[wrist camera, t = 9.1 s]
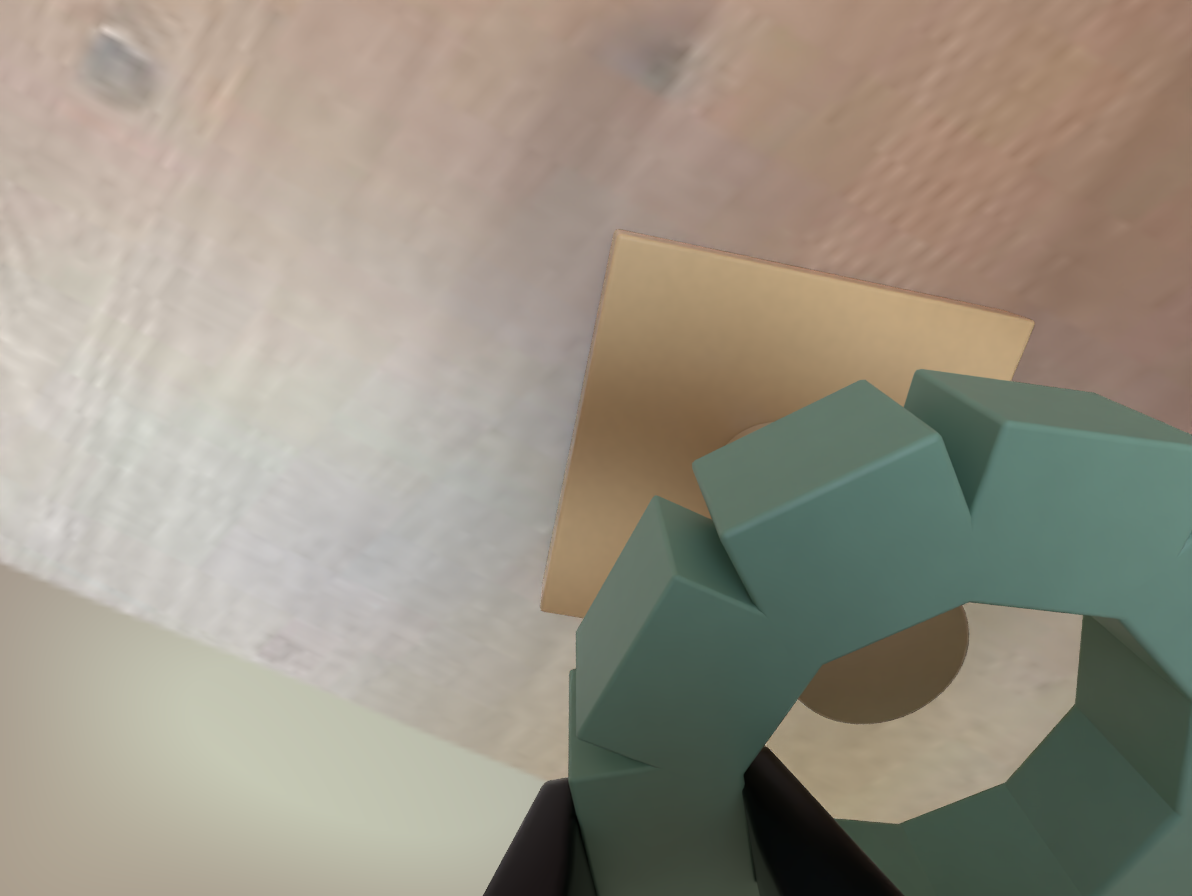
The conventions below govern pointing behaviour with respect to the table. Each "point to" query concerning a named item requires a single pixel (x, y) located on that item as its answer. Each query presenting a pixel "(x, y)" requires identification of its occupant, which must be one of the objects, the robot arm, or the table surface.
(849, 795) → the table surface
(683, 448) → the post
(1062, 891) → the ring
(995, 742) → the table surface
